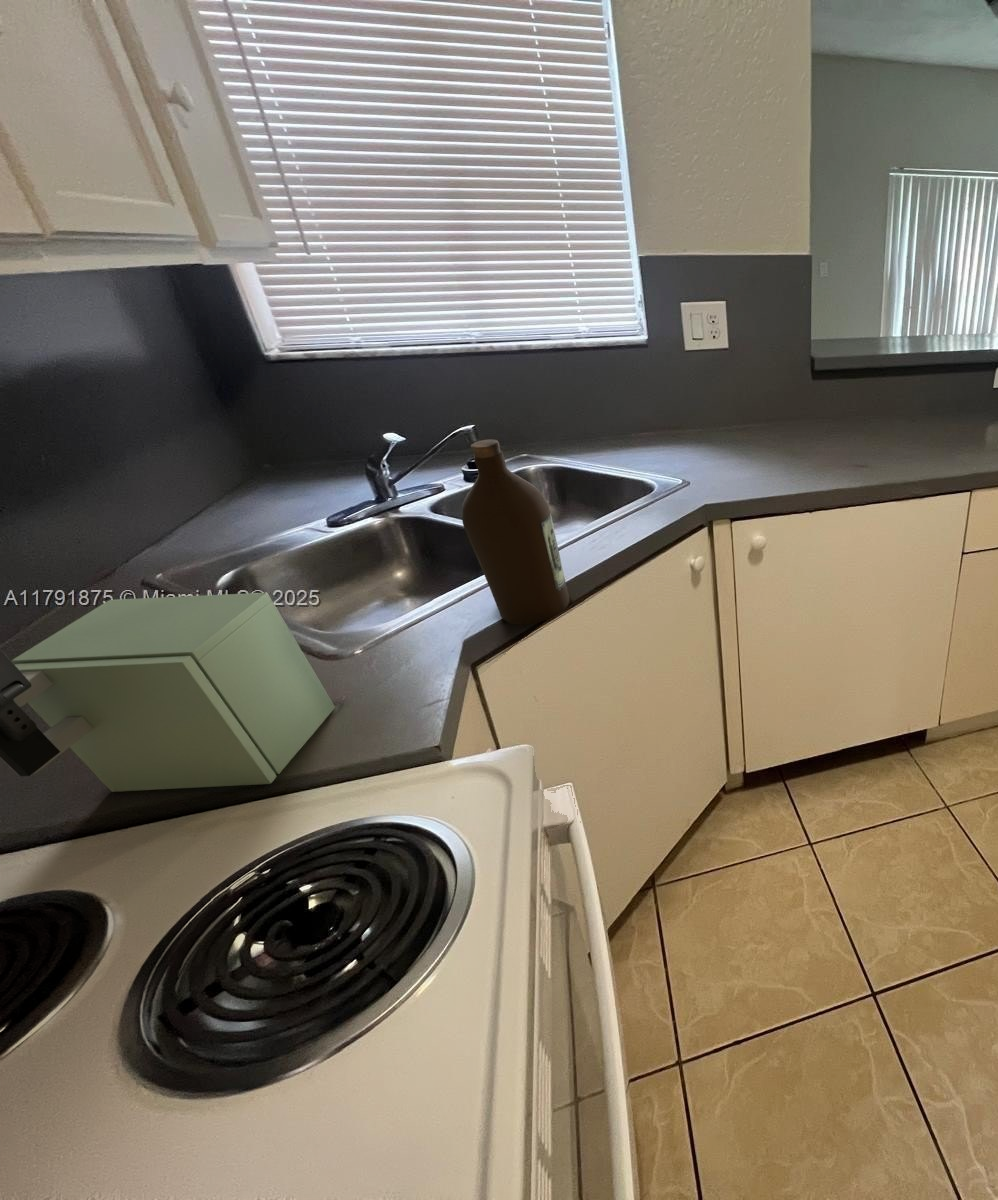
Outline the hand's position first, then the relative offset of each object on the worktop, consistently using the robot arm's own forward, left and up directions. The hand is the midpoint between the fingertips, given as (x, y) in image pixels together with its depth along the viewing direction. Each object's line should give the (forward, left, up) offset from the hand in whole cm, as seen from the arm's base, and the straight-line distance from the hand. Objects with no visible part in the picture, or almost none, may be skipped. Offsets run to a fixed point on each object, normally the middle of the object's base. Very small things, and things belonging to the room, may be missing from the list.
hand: (11, 764), depth 53 cm
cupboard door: (+5, +3, -11) cm, 13 cm away
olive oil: (+30, +37, -11) cm, 49 cm away
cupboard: (+5, +12, -11) cm, 17 cm away
